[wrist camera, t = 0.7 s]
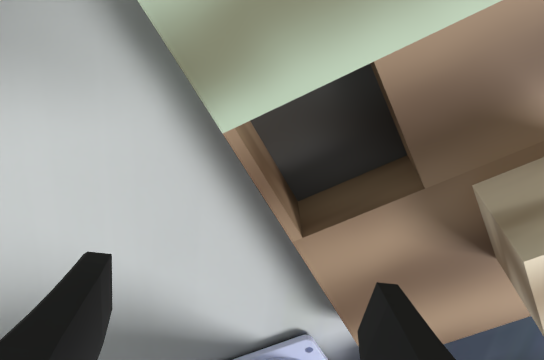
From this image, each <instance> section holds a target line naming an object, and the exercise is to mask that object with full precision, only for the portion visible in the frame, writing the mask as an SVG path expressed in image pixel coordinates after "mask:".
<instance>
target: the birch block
mask: <svg viewBox="0 0 544 360" xmlns="http://www.w3.org/2000/svg"><path fill="white" fill-rule="evenodd" d="M472 187H473V190H474V193H475V196H476V199H477V202H478V205H479V208H480V211H481V214H482V217H483V220H484V223H485V226H486V229H487V232H488V235H489V238H490V241H491V244H492V247H493V250H494V253H495V256H496V259H497V260H498V262H499V264H500V265H501V267H502V269H503V270H504V272H505V274H506V275H507V277H508V278H509V280H510V282H511V283H512V285H513V287H514V288H515V290H516V292H517V293H518V295H519V296H520V298H521V300H522V301H523V303H524V305H525V306H526V308H527V310H528V311H529V313H530V314H531V316H532V318H533V319H534V321H535V323H536V324H537V326H538V328H539V329H540V331H541V332H542V334H543V336H544V157H543V158H540V159H538V160H535V161H533V162H530V163H527V164H525V165H522V166H520V167H517V168H515V169H512V170H510V171H507V172H505V173H502V174H500V175H497V176H495V177H492V178H490V179H487V180H484V181H482V182H479V183H477V184H474V185H472Z"/></svg>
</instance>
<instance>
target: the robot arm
mask: <svg viewBox="0 0 544 360" xmlns="http://www.w3.org/2000/svg"><path fill="white" fill-rule="evenodd" d="M111 312H112V254H104V253H95V252H86V253H85V254H83V256H82V257H81V258H80V259H79V260H78V262H77V263H76V264H75V265H74V266H73V267H72V269H71V270H70V271H69V272H68V273H67V274H66V275H65V276H64V278H63V279H62V280H61V281H60V282H59V283H58V284H57V285H56V286H55V287H54V289H53V290H52V291H51V292H50V293H49V294H48V295H47V296H46V297H45V298H44V299H43V300H42V301H41V302H40V303H39V304H38V305H37V306H36V307H35V308H34V309H33V310H32V311H31V312H30V313H29V314H28V315H27V316H26V317H25V318H24V319H23V320H22V321H20V322H19V323H18V324H17V325H16V326H15V327H14V328H13V329H12V330H11V331H10V332H9V333H7V334H6V335H5V336H4V337H3V338H2V339H1V340H0V360H97V359H98V356H99V354H100V351H101V348H102V346H103V342H104V339H105V335H106V331H107V327H108V323H109V319H110V316H111ZM357 333H358V343H359V353H360V360H456V359H455V358H454V357H453V356H452V355H451V353H450V352H449V351H448V350H447V349H446V347H445V346H444V345H443V344H442V342H441V341H440V340H439V339H438V337H437V336H436V335H435V333H434V332H433V331H432V329H431V328H430V327H429V326H428V324H427V323H426V322H425V320H424V319H423V318H422V316H421V315H420V314H419V312H418V311H417V310H416V308H415V307H414V305H413V304H412V303H411V301H410V300H409V299H408V297H407V296H406V295H405V293H404V292H403V291H402V289H401V288H400V287H399V285H398V284H389V283H380V282H377V283H376V285H375V288H374V290H373V293H372V295H371V298H370V300H369V303H368V306H367V308H366V311H365V313H364V316H363V318H362V321H361V323H360V326H359V328H358V331H357ZM233 360H328V359H327V357H326V356H325V354H324V353H323V352H322V350H321V349H320V347H319V346H318V345H317V343H316V342H315V340H314V339H313V338H312V337H311V336H309V335H301V336H298V337H295V338H293V339H290V340H287V341H284V342H281V343H278V344H275V345H273V346H270V347H267V348H264V349H261V350H258V351H256V352H253V353H250V354H247V355H244V356H241V357H239V358H236V359H233Z"/></svg>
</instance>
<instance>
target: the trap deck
mask: <svg viewBox="0 0 544 360" xmlns="http://www.w3.org/2000/svg"><path fill="white" fill-rule="evenodd" d="M137 1H138V2H139V4H140V5H141V7H142V8H143V10H144V12H145V13H146V15H147V16H148V18H149V19H150V21H151V23H152V24H153V26H154V27H155V29H156V30H157V32H158V33H159V35H160V37H161V38H162V40H163V41H164V43H165V44H166V46H167V48H168V49H169V51H170V52H171V54H172V55H173V57H174V58H175V60H176V62H177V63H178V65H179V66H180V68H181V69H182V71H183V73H184V74H185V76H186V77H187V79H188V80H189V82H190V84H191V85H192V87H193V88H194V90H195V91H196V93H197V94H198V96H199V98H200V99H201V101H202V102H203V104H204V105H205V107H206V109H207V110H208V112H209V113H210V115H211V116H212V118H213V119H214V121H215V123H216V124H217V126H218V127H219V129H220V130H221V132H222V134H223V135H224V137H225V138H226V140H227V141H228V143H229V144H230V146H231V148H232V149H233V151H234V152H235V154H236V155H237V157H238V159H239V160H240V162H241V163H242V165H243V166H244V168H245V169H246V171H247V173H248V174H249V176H250V177H251V179H252V180H253V182H254V184H255V185H256V187H257V188H258V190H259V191H260V193H261V194H262V196H263V198H264V199H265V201H266V202H267V204H268V205H269V207H270V209H271V210H272V212H273V213H274V215H275V216H276V218H277V219H278V221H279V223H280V224H281V226H282V227H283V229H284V230H285V232H286V234H287V235H288V237H289V238H290V240H291V241H292V243H293V244H294V246H295V248H296V249H297V251H298V252H299V254H300V255H301V257H302V259H303V260H304V262H305V263H306V265H307V266H308V268H309V269H310V271H311V273H312V274H313V276H314V277H315V279H316V280H317V282H318V284H319V285H320V287H321V288H322V290H323V291H324V293H325V294H326V296H327V298H328V299H329V301H330V302H331V304H332V305H333V307H334V309H335V310H336V312H337V313H338V315H339V316H340V318H341V319H342V321H343V323H344V324H345V326H346V327H347V329H348V330H349V332H350V334H351V335H352V337H353V338H354V340H355V341H356V343H357V344H358V346H359V343H358V333H357V331H358V328H359V326H360V323H361V321H362V318H363V316H364V313H365V311H366V308H367V306H368V303H369V300H370V298H371V295H372V293H373V290H374V288H375V285H376V283H377V282H380V283H389V284H398V285H399V287H400V288H401V289H402V291H403V292H404V293H405V295H406V296H407V297H408V299H409V300H410V301H411V303H412V304H413V305H414V307H415V308H416V310H417V311H418V312H419V314H420V315H421V316H422V318H423V319H424V320H425V322H426V323H427V324H428V326H429V327H430V328H431V329H432V331H433V332H434V333H435V335H436V336H437V337H438V339H439V340H440V341H441V342H442V344H445V343H449V342H452V341H455V340H458V339H461V338H464V337H467V336H470V335H473V334H476V333H479V332H483V331H486V330H489V329H492V328H495V327H498V326H501V325H504V324H507V323H510V322H513V321H517V320H520V319H523V318H526V317H529V316H531V314H530V313H529V311H528V310H527V308H526V306H525V305H524V303H523V301H522V300H521V298H520V296H519V295H518V293H517V292H516V290H515V288H514V287H513V285H512V283H511V282H510V280H509V278H508V277H507V275H506V274H505V272H504V270H503V269H502V267H501V265H500V264H499V262H498V260H497V259H496V256H495V253H494V250H493V247H492V244H491V241H490V238H489V235H488V232H487V229H486V226H485V223H484V220H483V217H482V214H481V211H480V208H479V205H478V202H477V199H476V196H475V193H474V190H473V187H472V185H474V184H477V183H479V182H482V181H484V180H487V179H490V178H492V177H495V176H497V175H500V174H502V173H505V172H507V171H510V170H512V169H515V168H517V167H520V166H522V165H525V164H527V163H530V162H533V161H535V160H538V159H540V158H543V157H544V0H137Z"/></svg>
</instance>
